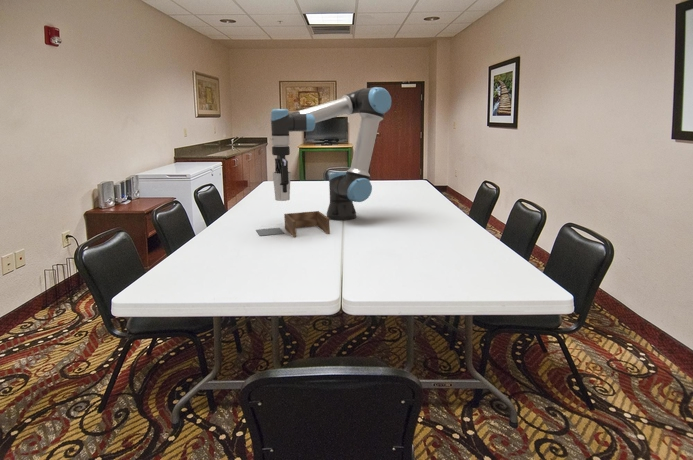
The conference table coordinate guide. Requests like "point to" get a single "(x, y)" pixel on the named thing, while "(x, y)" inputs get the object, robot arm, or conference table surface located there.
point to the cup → (278, 187)
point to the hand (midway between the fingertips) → (282, 198)
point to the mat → (269, 231)
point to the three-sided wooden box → (306, 221)
